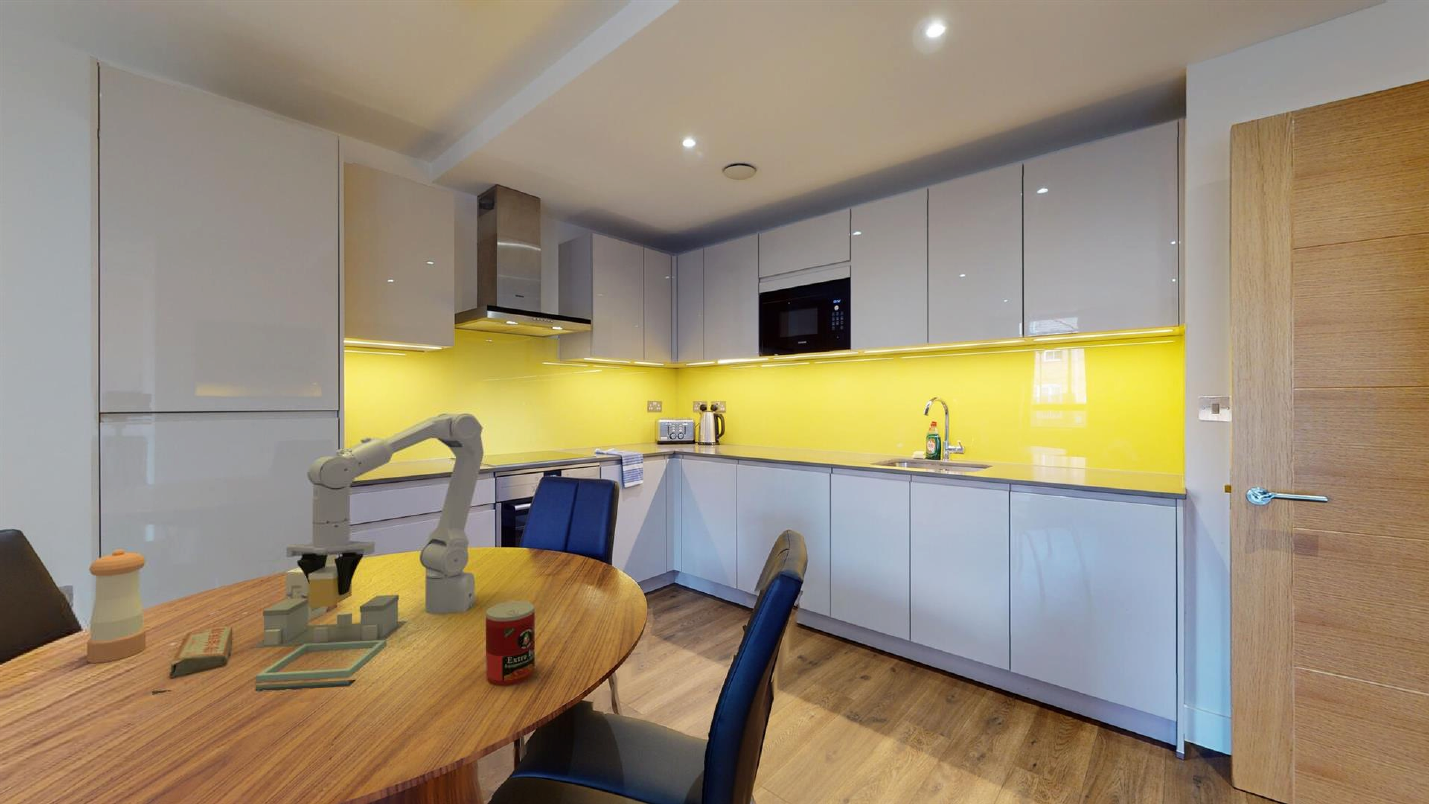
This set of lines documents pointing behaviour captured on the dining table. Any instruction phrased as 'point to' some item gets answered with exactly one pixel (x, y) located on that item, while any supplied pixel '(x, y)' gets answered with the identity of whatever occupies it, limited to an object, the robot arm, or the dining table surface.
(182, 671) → the packaged product
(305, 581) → the ink cartridge box
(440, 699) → the dining table surface
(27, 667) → the dining table surface
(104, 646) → the pepper shaker
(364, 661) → the parts tray
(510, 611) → the canned food
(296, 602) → the block
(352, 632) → the block
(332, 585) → the block
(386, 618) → the block
